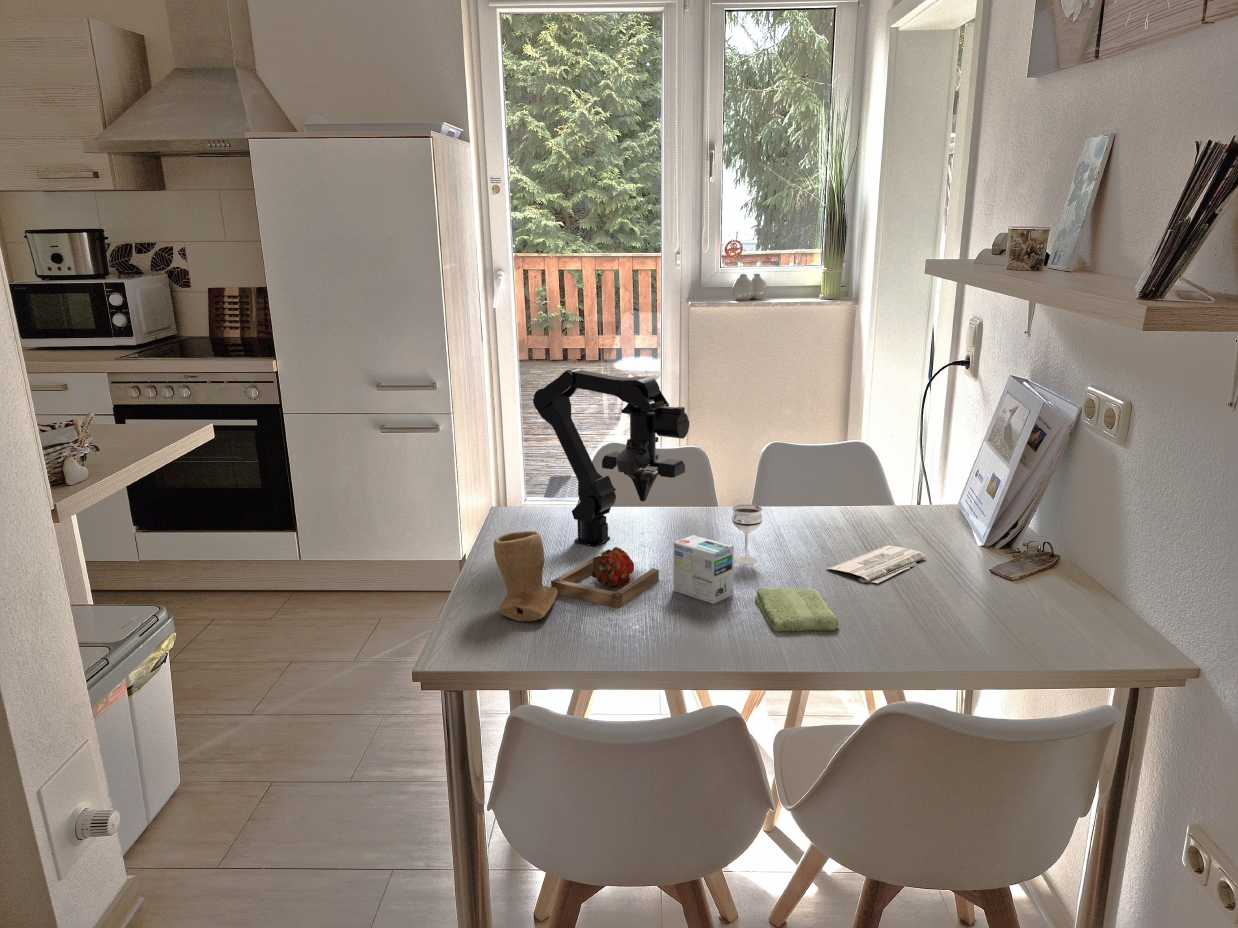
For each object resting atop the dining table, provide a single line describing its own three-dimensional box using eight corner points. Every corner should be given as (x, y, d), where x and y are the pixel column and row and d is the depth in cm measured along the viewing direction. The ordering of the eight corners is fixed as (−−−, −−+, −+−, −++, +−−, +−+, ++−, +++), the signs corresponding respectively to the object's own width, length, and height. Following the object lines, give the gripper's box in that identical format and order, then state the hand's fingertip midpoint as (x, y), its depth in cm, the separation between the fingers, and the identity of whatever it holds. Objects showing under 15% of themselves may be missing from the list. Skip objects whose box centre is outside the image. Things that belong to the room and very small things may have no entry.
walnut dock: (551, 592, 179) (550, 581, 179) (594, 567, 193) (594, 556, 192) (618, 608, 171) (618, 596, 171) (658, 580, 185) (658, 569, 184)
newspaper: (874, 589, 181) (874, 577, 180) (826, 578, 190) (825, 567, 190) (935, 562, 195) (934, 551, 194) (887, 553, 204) (887, 543, 204)
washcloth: (816, 596, 177) (816, 581, 176) (841, 634, 160) (842, 617, 159) (751, 598, 177) (752, 583, 176) (770, 636, 159) (770, 619, 159)
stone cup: (506, 591, 180) (503, 522, 176) (563, 595, 178) (561, 524, 174) (483, 622, 166) (479, 547, 162) (544, 626, 164) (541, 550, 160)
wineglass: (760, 555, 199) (761, 504, 196) (762, 565, 193) (763, 513, 190) (730, 554, 200) (731, 503, 197) (731, 565, 193) (732, 513, 190)
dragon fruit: (604, 603, 178) (613, 589, 189) (638, 580, 176) (645, 567, 188) (580, 568, 178) (591, 556, 189) (613, 545, 176) (623, 535, 188)
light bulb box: (734, 595, 177) (735, 544, 174) (714, 605, 172) (714, 553, 170) (692, 582, 184) (693, 533, 181) (672, 591, 179) (672, 541, 177)
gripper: (588, 436, 194) (589, 504, 198) (662, 445, 185) (662, 516, 189) (614, 427, 203) (615, 492, 207) (686, 435, 194) (685, 503, 198)
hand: (643, 500), depth 200 cm, fingers closed
